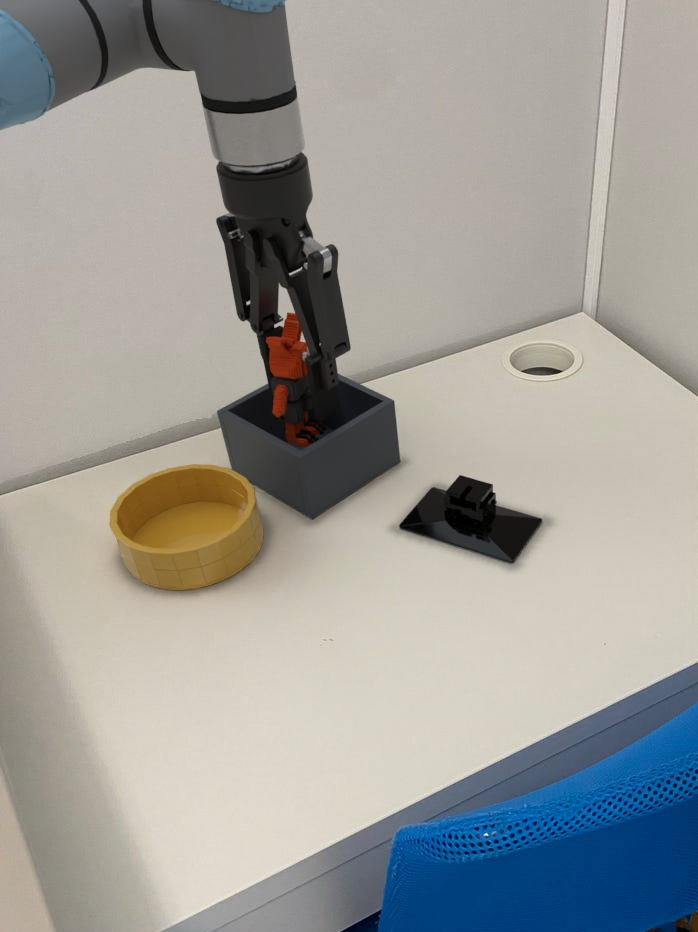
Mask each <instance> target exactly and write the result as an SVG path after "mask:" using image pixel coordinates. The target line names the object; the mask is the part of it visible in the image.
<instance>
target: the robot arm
mask: <svg viewBox="0 0 698 932" xmlns="http://www.w3.org/2000/svg"><path fill="white" fill-rule="evenodd" d="M286 1H287V0H0V131H3V130H6V129H9V128H12V127H15V126H18V125H24V124H26V123H29V122H33V121H35V120H37V119H39V118H40V117H42V116H44V115H45V113H47V112H49V111H51V110H53V109H56V108H57V107H59V106H61V105H63V104H66V103H67V102H70V101H71V100H73V99H75V98H77V97H79V96H81V95H82V94H85V93H88V92H90V91H94V90H96V89H98V88H100V87H102V86H105V85H107V84H109V83H110V82H113V81H115V80H117V79H119V78H121V77H123V76H126V75H128V74H130V73H132V72H134V71H136V70H140V69H160V70H170V71H179V72H180V71H181V72H194V73H195V79H196V81H197V82H196V83H197V87H198V92H199V94H200V98H201V106H202V110H203V115H204V120H205V125H206V130H207V133H208V134H207V135H208V140H209V145H210V150H211V153H212V156H213V157H214V159H215V160H217V161H218V163H217V165H216V167H215V168H216V169H215V170H216V174H217V180H218V184H219V188H220V193H221V196H222V203H223V206H224V208H225V210H226V211H227V212H228V213H226V214H225V213H224V214H223V215H221V216H218V217H216V219H215V223H216V226H217V229H218V231H219V234H220V236H221V239H222V242H223V245H224V251H225V256H226V257H225V258H226V262H227V267H228V273H229V277H230V283H231V289H232V294H233V299H234V305H235V311H236V315H237V317H238V319H239V320H240V321H241V322H246V321H247V322H248V323H249V325H250V328H251V331H252V332H253V333H255V334H256V338H257V339H256V340H257V343H258V348H259V353H260V356H261V359H262V361H263V366H264V370H265V375H266V380H267V384H268V385H269V390H270V395H271V396H272V397H274V395H273V393H272V388H271V379H272V378H273V376H274V375H273V374H272V372H271V371H270V365H269V361H270V360H269V356H270V355H269V352H270V348H269V346H268V344H267V343H266V338H267V337H273V336H275V337H282V333H283V328H284V326H282V325H278V326H276V327H275V325H277V324H279V323H281V322H283V321H284V320H285V319H284V317H282V316H281V315H280V314H279V295H280V294H279V293H280V291H279V290H280V287H281V288H283V289H285V290H286V292H287V294H288V297H289V300H290V303H291V305H292V308H293V312H294V313H295V314H296V317H297V319H298V322H299V325H300V328H301V330H302V333H301V334H302V336H303V338H304V342H306V344H307V347H308V350H309V352H310V356H308V357H307V358H305V362H306V368H307V374H308V380H309V385H310V391H311V397H312V402H313V408H314V414H315V419H317V420H319V421H320V422H321V421H322V420H324V419H326V418H327V417H329V416H331V415H333V414H334V413H336V412H338V411H339V410H341V408H340V401H339V394H338V388H337V386H338V384H339V378H338V374H339V373H338V365H337V360H336V359H337V358H340V357H341V356H343V355H344V354H347V353H349V352H350V351H351V348H352V346H351V340H350V336H349V330H348V324H347V319H346V318H347V317H346V313H345V307H344V301H343V296H342V291H341V286H340V280H339V274H338V268H339V267H338V266H339V251H338V248H337V247H336V245H335V244H333V243H330V244H327V245H325V246H323V245H322V244H321V243H319V242H318V241H317V240H316V239H315V238H314V234H313V230H312V228H311V226H310V224H309V221H308V217H307V214H308V213H307V212H308V209H309V207H310V205H311V203H312V201H313V198H314V193H313V187H312V179H311V172H310V167H309V160H308V159H309V158H308V157H307V156H306V154H305V153H303V150H304V149H305V146H306V143H305V135H304V129H303V123H302V118H301V117H302V116H301V110H300V104H299V98H298V97H299V96H298V89H297V84H296V83H297V82H296V79H295V72H294V65H293V57H292V51H291V50H292V49H291V42H290V35H289V27H288V19H287V11H286V10H287V9H286ZM297 270H298V271H297ZM248 302H249V304H247V303H248Z"/></svg>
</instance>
